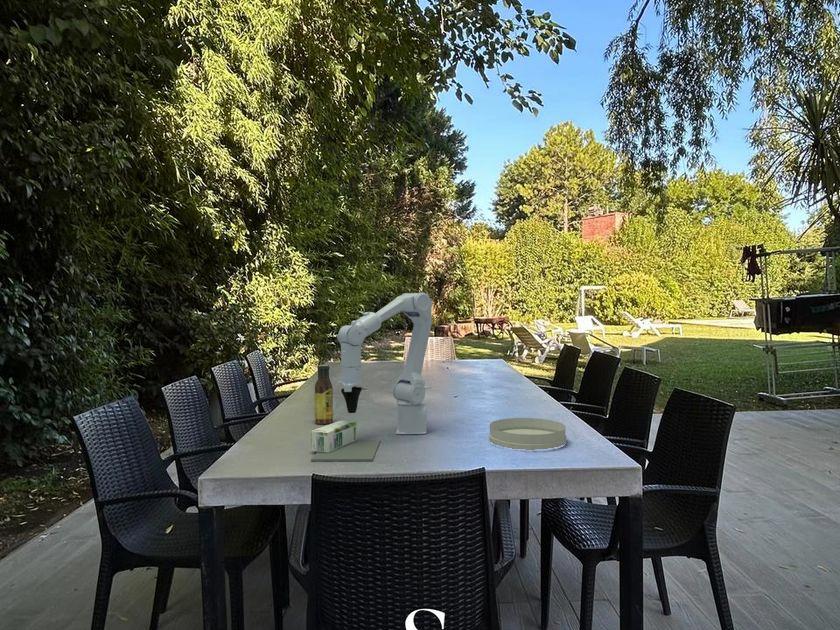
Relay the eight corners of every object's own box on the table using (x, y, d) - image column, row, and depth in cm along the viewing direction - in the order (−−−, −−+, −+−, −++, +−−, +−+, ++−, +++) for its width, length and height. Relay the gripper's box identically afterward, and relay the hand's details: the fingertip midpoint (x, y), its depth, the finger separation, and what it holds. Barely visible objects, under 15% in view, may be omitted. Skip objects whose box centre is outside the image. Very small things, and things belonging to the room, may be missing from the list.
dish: (480, 449, 153) (480, 431, 153) (498, 431, 174) (498, 415, 173) (561, 456, 145) (561, 437, 145) (570, 436, 165) (570, 420, 165)
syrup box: (357, 441, 160) (328, 453, 147) (340, 439, 163) (310, 451, 150) (356, 421, 160) (328, 432, 147) (339, 419, 163) (310, 430, 150)
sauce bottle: (329, 425, 184) (328, 366, 184) (311, 424, 185) (310, 366, 185) (336, 421, 191) (335, 364, 190) (319, 420, 192) (318, 364, 191)
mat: (379, 443, 159) (379, 441, 159) (372, 461, 141) (372, 459, 141) (325, 443, 160) (325, 441, 160) (311, 461, 142) (311, 459, 142)
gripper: (342, 363, 167) (342, 407, 168) (333, 369, 153) (333, 417, 153) (365, 363, 167) (365, 407, 167) (358, 369, 153) (359, 417, 153)
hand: (352, 412), depth 160 cm, fingers closed
